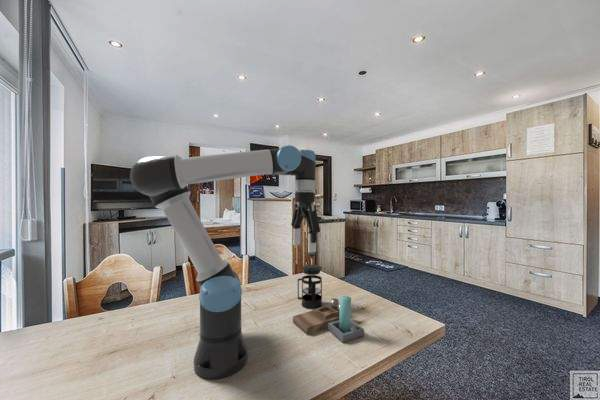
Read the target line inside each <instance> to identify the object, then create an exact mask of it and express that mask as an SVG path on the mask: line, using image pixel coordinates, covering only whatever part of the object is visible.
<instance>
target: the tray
mask: <svg viewBox="0 0 600 400" xmlns="http://www.w3.org/2000/svg"><path fill="white" fill-rule="evenodd" d="M327 331H329V332H330V333H331V334H332V335H333V336H334V337H335V338H336V339H338V341H340V342H341V344H345V343H348V342H350V341H353V340H356V339H360V338H363V337H365V329H364V328H363V327H361V325H359V324H358V323H356V322H354V320H352V319H351V331H350V332H346V333H342V332H341V331H340V330H339V320H338V321H335V322H331V323H328V328H327Z"/></svg>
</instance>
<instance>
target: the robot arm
mask: <svg viewBox="0 0 600 400" xmlns="http://www.w3.org/2000/svg"><path fill="white" fill-rule="evenodd" d="M316 160H317V159H316V153H315V151H314V150H311V149H298V148H297V147H296V146H293V145H290V144H288V145H283V146H281V147H280V148H270V149H259V150H258V149H257V150H249V151H240V152H239V151H238V152H230V153H221V154H219V153H218V154H209V155H201V156H199V155H197V156H189V157H181V156H180V155H178V154H171V155H153V156H146V157H142V158H140V159H139V160H137V161H136V162H135V163H134V164H133V165H132V167H131V169H130V174H129V178H130V182H131V184H132V186H133V187H134V189H135V190H137V192H139V193H140V194H143V195H145V196H148V197H149V199H150V201H151V202H152V204H153V206H154V208H156V209H158V210H162V211H163V213H164V215H165V217H166V218H167V220H168V222H169V223H170V226H171V227H172V229H173V230H174V232H175V234H176V236H177V238H178V240H179V242H180V243H181V245H182V247H183V249H184V251H185V252H186V254H187V256H188V258H189V259H190V261H191V263H192V265H193V266H194V269H195V270H196V272H197V276H196V279H195V280H196V282H197V284H198V285H199V289H200V290H199V294H198V300H199V337H200V338H199V341H198V344H197V348H196V351H195V353H194V357H193V370H194V373H195V374H196V375H197V376H199V377H200V378H203V379H209V380H215V379H216V380H217V379H223V378H227V377H230V376H231V375H234V374H236V373H237V372H239V371H240V370H241V369H242V368H243V367H245V365H246V364H247V361H248V347H247V346H248V345H247V344H246V339H244V335H243V332H242V294H243V288H242V285H241V280H240V277H239V276H238V274H237V273H236V271H235V270H233V268H232V266H231V264H230V262H229V261H228V260H226V259H222V257H221V256H220V253H219V251H218V250H217V248H216V246H215V244H214V242H213V240H212V239H211V237H210V235H209V234H208V232H207V230H206V227H205V226H204V224H203V222H202V221H201V219H200V217H199V215H198V212H197V211H196V209H195V208H194V206H193V204H192V202H191V200H190V195H191V193H192V192H191V190H190V188H189V185H192V184H193V185H194V184H202V183H209V182H215V181H225V180H233V179H240V178H245V177H246V178H249V177H256V176H262V175H270V176H295V177H294V191H296V192H295V193H294V201H295V204H294V211H293V214H292V220H291V223H290V226H291V227H292V228H293V238H292V239H293V242H292V244H293V246H300V245H301V230H302V229H301V228H302V226H301V224H302V222H303V219H305V221H306V225H307V227H308V232H307V233H308V241H307V242H308V243H307V245H308V246H307V247H308V248H307V252H308V253H317V234H318V233H320V232H321V227H320V222H319V218H318V213H317V206H316V205H315V204H312V203H315V202H316V193H315V192H314V191H316V186H317V185H316V164H317V163H316Z"/></svg>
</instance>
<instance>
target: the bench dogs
mask: <svg viewBox="0 0 600 400" xmlns="http://www.w3.org/2000/svg"><path fill="white" fill-rule="evenodd" d="M330 307H332V308H333V309H335V310H337V311H338V312H339V307H340V299H338V298H331V299H330Z"/></svg>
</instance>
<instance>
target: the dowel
mask: <svg viewBox="0 0 600 400" xmlns="http://www.w3.org/2000/svg"><path fill="white" fill-rule="evenodd" d="M339 303H340V307H339V330H340V331H341V332H342V333H346V332H350V331H351V320H352V316H351V315H352V298H351V297H350V296H349V295H348V296H347V295H341V296H339Z"/></svg>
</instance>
